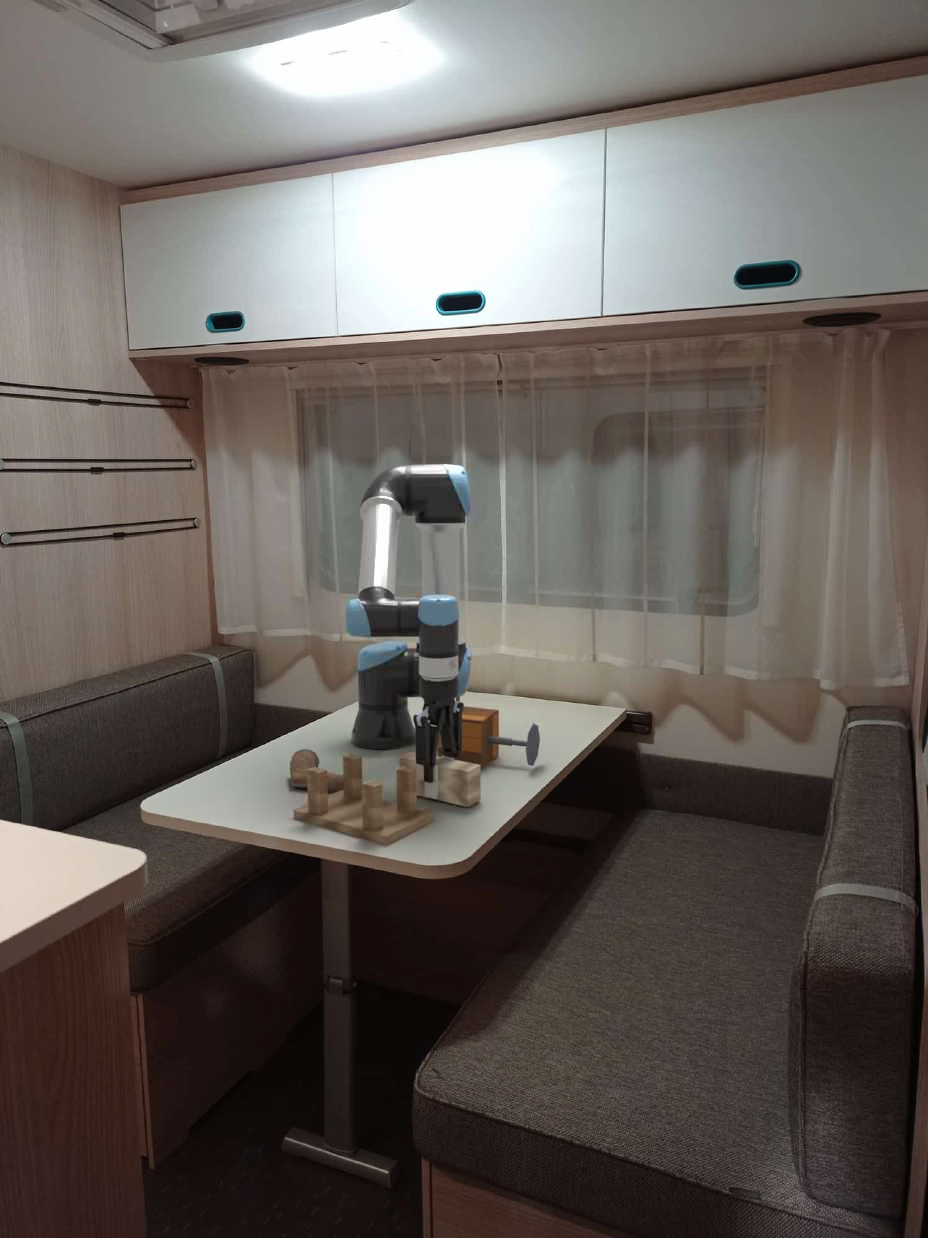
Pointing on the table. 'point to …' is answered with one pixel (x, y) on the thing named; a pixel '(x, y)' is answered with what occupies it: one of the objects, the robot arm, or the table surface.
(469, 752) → the wooden box with plunger
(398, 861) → the table surface
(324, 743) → the table surface
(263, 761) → the table surface
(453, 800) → the cream wooden block
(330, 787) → the pipe
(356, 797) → the wooden block assembly
